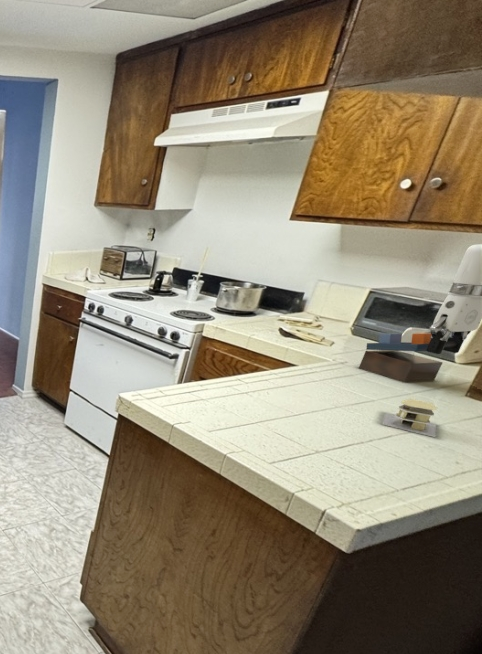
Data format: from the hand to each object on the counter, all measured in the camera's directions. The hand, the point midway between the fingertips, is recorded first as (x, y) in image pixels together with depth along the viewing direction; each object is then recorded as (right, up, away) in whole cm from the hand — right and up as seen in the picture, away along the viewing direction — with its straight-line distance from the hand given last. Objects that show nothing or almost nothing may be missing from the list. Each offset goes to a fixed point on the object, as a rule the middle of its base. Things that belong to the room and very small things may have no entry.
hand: (442, 351), depth 138 cm
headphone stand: (+16, -1, +26) cm, 30 cm away
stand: (-2, -6, +12) cm, 13 cm away
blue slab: (-1, +1, +7) cm, 7 cm away
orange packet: (+1, +2, +6) cm, 6 cm away
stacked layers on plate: (-36, -20, -24) cm, 48 cm away
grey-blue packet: (-4, +2, +11) cm, 12 cm away
